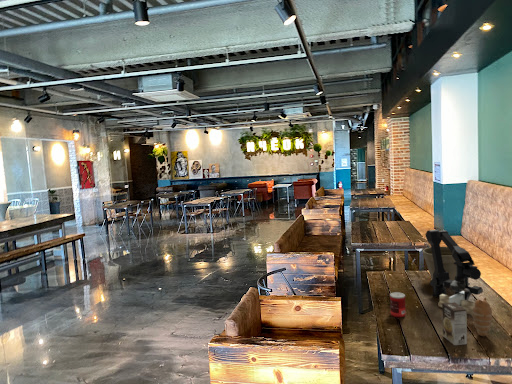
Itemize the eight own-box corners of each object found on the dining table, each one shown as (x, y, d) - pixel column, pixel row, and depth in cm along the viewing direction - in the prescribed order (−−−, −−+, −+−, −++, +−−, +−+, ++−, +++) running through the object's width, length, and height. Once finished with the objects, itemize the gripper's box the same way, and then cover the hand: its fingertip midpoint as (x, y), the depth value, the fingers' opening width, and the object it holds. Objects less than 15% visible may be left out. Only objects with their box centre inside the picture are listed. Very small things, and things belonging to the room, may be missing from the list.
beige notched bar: (438, 306, 215) (438, 295, 215) (444, 303, 218) (443, 293, 218) (475, 317, 199) (475, 305, 198) (481, 314, 202) (481, 302, 201)
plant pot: (419, 286, 248) (418, 253, 246) (427, 275, 268) (426, 244, 267) (463, 292, 234) (463, 256, 232) (468, 280, 254) (468, 247, 252)
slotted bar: (454, 313, 203) (454, 298, 203) (449, 311, 206) (448, 297, 205) (468, 306, 211) (468, 292, 210) (462, 305, 214) (462, 290, 213)
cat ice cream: (486, 341, 173) (485, 302, 171) (468, 335, 180) (468, 298, 178) (496, 336, 178) (496, 298, 176) (479, 330, 184) (478, 293, 183)
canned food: (405, 312, 210) (404, 292, 209) (406, 318, 203) (405, 297, 202) (390, 311, 213) (389, 291, 212) (390, 317, 205) (389, 296, 204)
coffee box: (442, 336, 181) (441, 302, 179) (455, 335, 181) (454, 301, 180) (453, 345, 171) (453, 310, 170) (467, 344, 172) (467, 309, 171)
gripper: (437, 273, 212) (438, 301, 214) (472, 281, 197) (472, 311, 198) (448, 269, 219) (449, 296, 220) (483, 276, 203) (483, 305, 205)
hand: (462, 302), depth 210 cm, fingers closed on slotted bar, 3 cm apart
